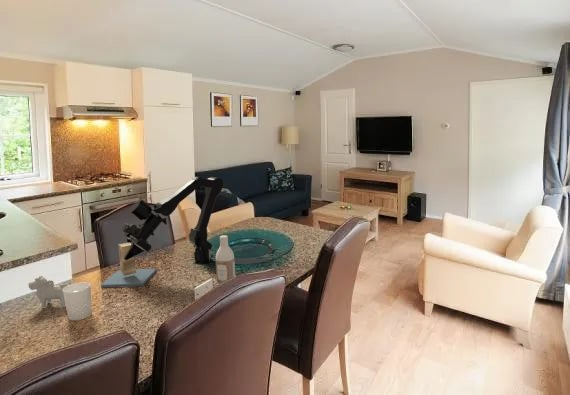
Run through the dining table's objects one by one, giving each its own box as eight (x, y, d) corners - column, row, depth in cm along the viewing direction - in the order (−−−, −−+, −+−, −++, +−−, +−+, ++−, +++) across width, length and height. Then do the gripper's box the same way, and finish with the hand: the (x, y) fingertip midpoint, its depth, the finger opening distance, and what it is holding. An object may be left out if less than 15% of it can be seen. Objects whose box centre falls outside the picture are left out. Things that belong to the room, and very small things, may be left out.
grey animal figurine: (37, 302, 134) (33, 274, 132) (74, 301, 134) (70, 273, 132) (28, 309, 128) (23, 280, 126) (66, 308, 129) (62, 278, 127)
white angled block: (224, 301, 125) (210, 280, 124) (200, 315, 127) (186, 293, 126) (227, 297, 129) (213, 276, 128) (203, 310, 131) (189, 289, 130)
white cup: (99, 311, 126) (95, 283, 124) (79, 323, 118) (75, 293, 116) (81, 308, 128) (77, 281, 126) (60, 319, 121) (56, 290, 119)
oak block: (136, 272, 153) (133, 244, 151) (124, 275, 150) (121, 246, 148) (132, 270, 156) (129, 242, 154) (121, 272, 153) (118, 244, 151)
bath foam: (214, 289, 141) (210, 238, 137) (222, 282, 147) (219, 233, 144) (230, 291, 139) (228, 239, 135) (238, 284, 145) (236, 234, 142)
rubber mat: (156, 270, 162) (156, 268, 161) (142, 286, 146) (142, 283, 146) (119, 271, 162) (118, 269, 161) (101, 287, 146) (101, 284, 146)
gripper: (127, 211, 158) (101, 242, 154) (140, 219, 144) (112, 253, 139) (147, 226, 164) (123, 256, 160) (162, 235, 150) (136, 268, 145)
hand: (123, 258), depth 151 cm, fingers closed on oak block, 5 cm apart
